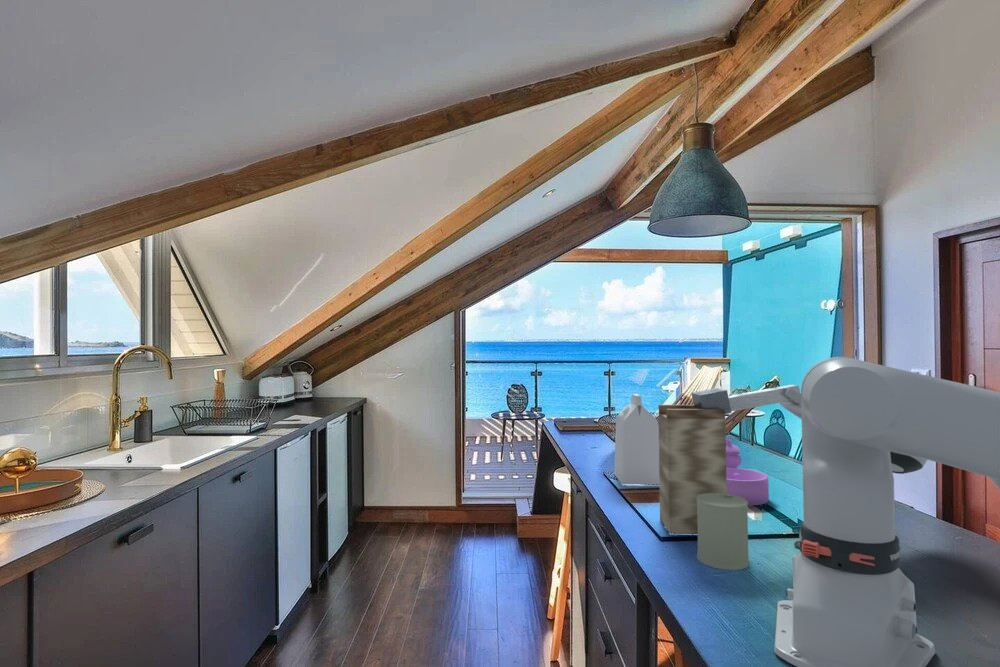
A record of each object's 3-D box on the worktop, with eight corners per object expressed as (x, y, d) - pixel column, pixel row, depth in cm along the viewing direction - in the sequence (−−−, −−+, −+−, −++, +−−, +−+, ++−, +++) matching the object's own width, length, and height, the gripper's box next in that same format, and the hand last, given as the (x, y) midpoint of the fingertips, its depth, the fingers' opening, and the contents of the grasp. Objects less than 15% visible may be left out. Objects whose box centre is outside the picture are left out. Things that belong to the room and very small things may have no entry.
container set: (775, 508, 133) (774, 455, 133) (710, 504, 137) (709, 453, 137) (753, 483, 157) (753, 438, 157) (699, 480, 161) (698, 436, 161)
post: (712, 521, 123) (710, 404, 124) (727, 536, 113) (725, 409, 114) (660, 520, 124) (658, 404, 125) (669, 535, 114) (667, 409, 115)
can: (756, 559, 101) (755, 496, 101) (739, 575, 94) (738, 507, 95) (708, 547, 107) (707, 487, 108) (688, 561, 101) (688, 497, 101)
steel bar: (791, 396, 121) (786, 375, 122) (805, 399, 115) (800, 376, 116) (695, 414, 122) (691, 392, 123) (704, 417, 116) (699, 395, 117)
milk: (662, 486, 154) (661, 396, 155) (622, 486, 155) (621, 396, 155) (651, 476, 166) (650, 393, 167) (614, 476, 167) (613, 393, 167)
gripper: (858, 442, 107) (795, 407, 108) (808, 427, 127) (756, 398, 129) (874, 415, 107) (811, 381, 108) (822, 404, 127) (769, 375, 129)
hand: (781, 390), depth 119 cm, fingers closed on steel bar, 3 cm apart
